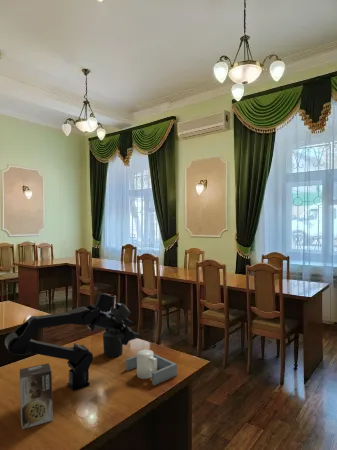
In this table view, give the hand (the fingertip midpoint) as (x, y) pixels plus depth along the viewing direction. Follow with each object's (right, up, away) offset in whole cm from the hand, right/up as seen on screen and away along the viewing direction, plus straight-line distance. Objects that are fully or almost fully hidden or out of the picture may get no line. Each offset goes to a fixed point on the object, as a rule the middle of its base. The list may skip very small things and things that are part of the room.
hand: (136, 329), depth 139 cm
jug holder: (+7, -16, -5) cm, 18 cm away
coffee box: (-28, -17, -36) cm, 49 cm away
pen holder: (-12, -16, +15) cm, 25 cm away
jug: (+5, -16, -8) cm, 19 cm away
